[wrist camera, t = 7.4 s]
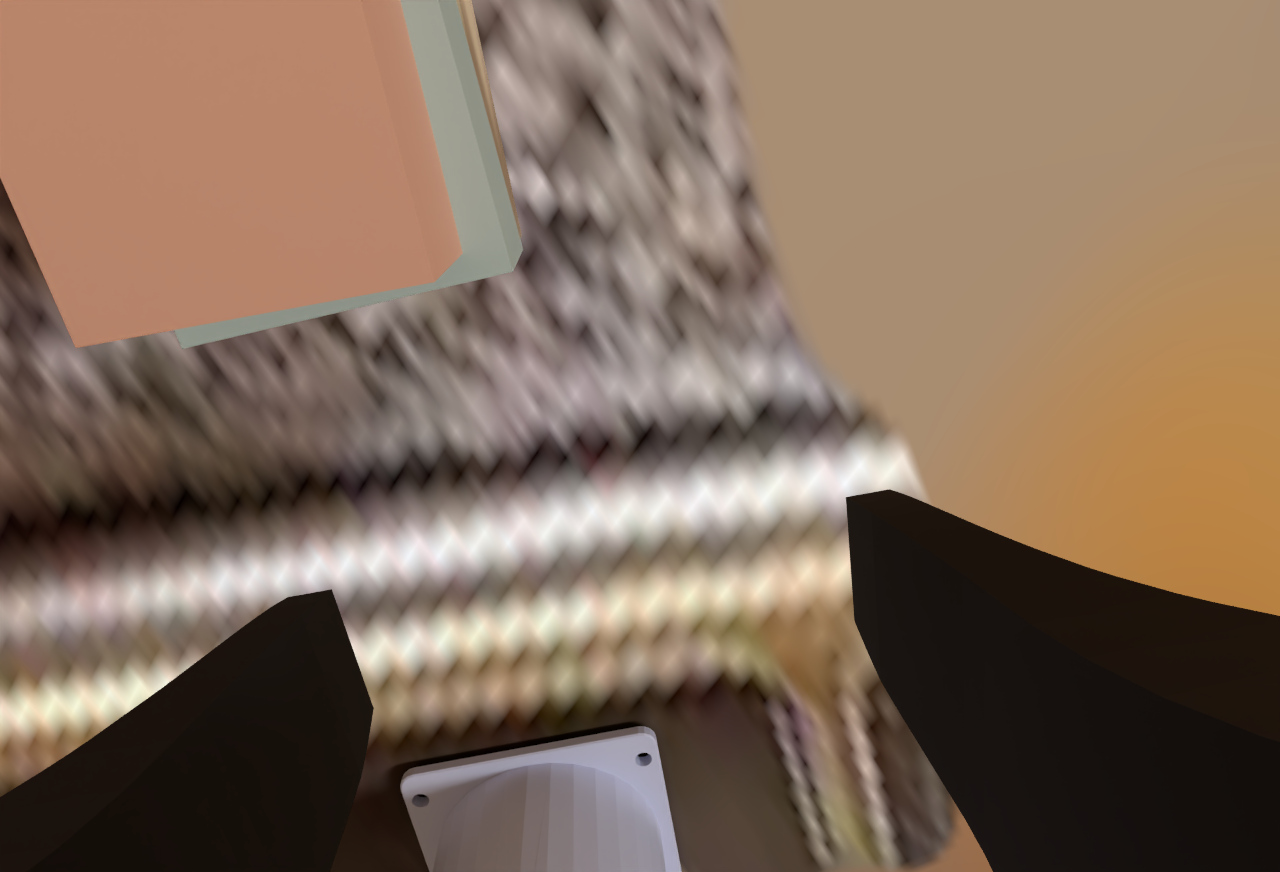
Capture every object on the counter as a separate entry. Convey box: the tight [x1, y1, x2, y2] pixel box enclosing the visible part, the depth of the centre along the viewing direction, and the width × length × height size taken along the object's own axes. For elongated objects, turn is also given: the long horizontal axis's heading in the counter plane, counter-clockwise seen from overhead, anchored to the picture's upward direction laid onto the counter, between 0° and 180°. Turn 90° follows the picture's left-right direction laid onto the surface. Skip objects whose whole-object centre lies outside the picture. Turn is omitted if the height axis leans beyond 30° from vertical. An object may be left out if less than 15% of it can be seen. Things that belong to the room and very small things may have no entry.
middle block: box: [174, 0, 523, 349], centre depth 14 cm, size 6×6×3 cm
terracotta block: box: [0, 0, 463, 348], centre depth 11 cm, size 5×5×3 cm
